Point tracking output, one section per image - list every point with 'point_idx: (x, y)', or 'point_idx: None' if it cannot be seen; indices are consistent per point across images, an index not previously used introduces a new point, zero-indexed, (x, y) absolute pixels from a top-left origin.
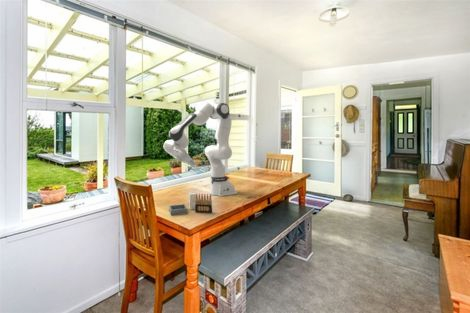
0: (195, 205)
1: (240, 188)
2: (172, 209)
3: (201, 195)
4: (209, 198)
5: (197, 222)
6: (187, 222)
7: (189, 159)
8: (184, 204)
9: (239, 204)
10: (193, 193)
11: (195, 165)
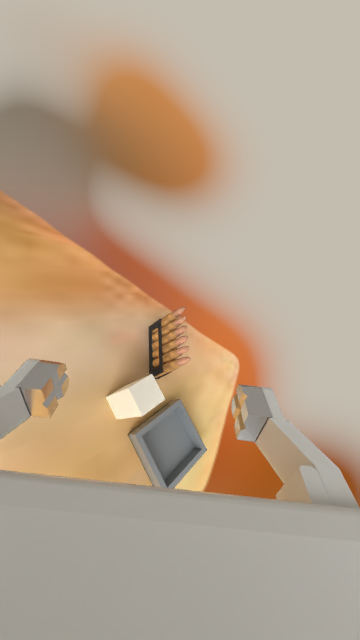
0: (169, 372)
1: None
2: (161, 473)
3: (185, 340)
4: (177, 316)
5: (216, 352)
6: (222, 375)
7: (272, 402)
8: (140, 432)
9: (61, 242)
10: (146, 388)
11: (61, 384)
